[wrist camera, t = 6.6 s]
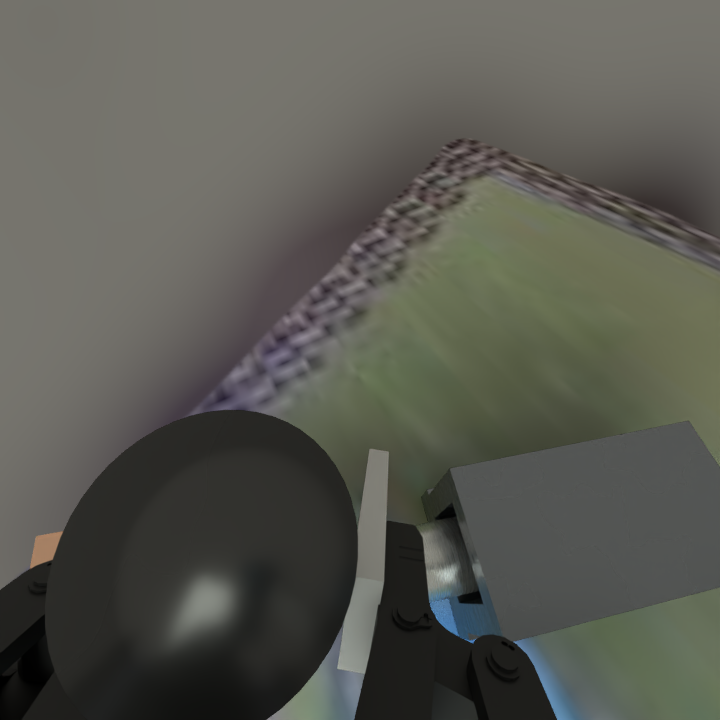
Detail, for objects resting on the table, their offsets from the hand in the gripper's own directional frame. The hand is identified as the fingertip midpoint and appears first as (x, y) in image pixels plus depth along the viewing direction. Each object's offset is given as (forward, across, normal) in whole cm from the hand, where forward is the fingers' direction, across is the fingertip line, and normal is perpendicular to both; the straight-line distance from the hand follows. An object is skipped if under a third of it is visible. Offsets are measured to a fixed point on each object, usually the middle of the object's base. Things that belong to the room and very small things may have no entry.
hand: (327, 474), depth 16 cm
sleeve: (+7, +12, -6) cm, 15 cm away
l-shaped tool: (+3, +4, -6) cm, 8 cm away
